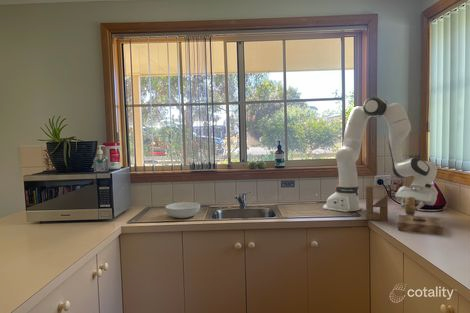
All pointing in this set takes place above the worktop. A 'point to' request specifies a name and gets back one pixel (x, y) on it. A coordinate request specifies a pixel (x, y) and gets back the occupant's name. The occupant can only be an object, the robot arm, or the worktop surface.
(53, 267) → the worktop surface
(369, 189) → the wooden braced stand
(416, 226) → the board
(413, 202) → the peg
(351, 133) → the robot arm
